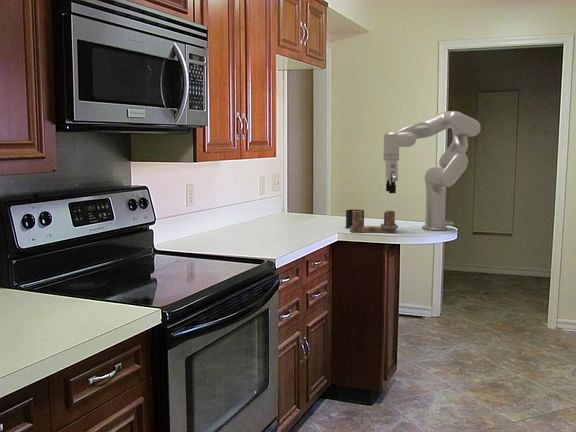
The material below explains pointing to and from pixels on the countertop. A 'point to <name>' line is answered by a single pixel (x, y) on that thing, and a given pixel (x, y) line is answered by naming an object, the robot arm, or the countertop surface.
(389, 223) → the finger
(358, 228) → the rail
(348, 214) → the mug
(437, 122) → the robot arm
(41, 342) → the countertop surface
